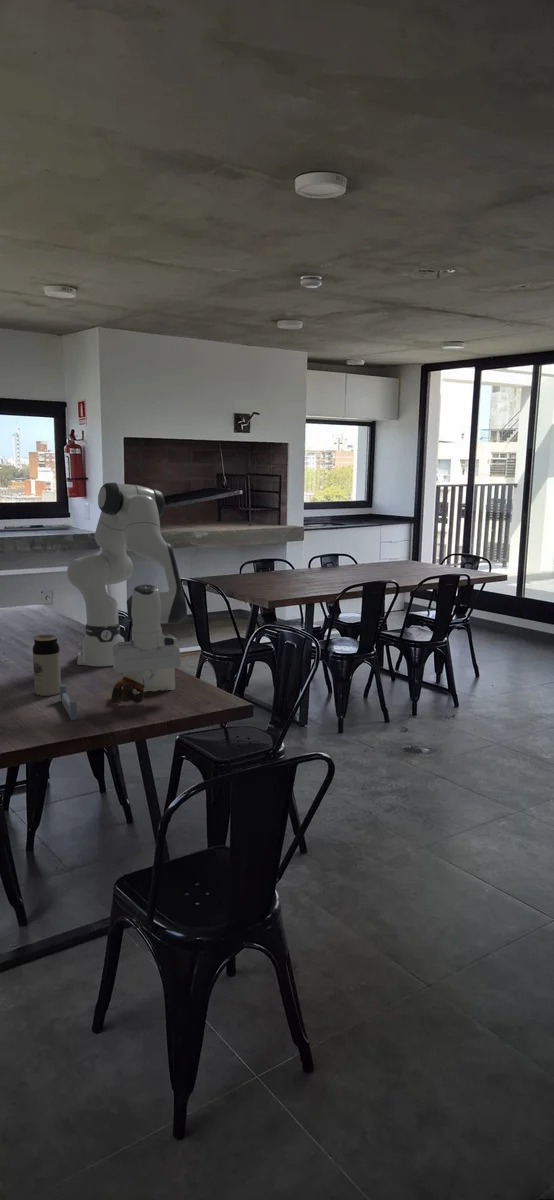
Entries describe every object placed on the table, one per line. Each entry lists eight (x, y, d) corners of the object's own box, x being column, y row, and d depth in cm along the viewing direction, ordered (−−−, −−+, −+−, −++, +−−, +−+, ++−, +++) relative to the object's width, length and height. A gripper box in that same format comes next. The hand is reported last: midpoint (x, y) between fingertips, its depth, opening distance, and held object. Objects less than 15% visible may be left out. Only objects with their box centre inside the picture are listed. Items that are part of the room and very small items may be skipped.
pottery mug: (108, 698, 248) (120, 674, 249) (136, 711, 249) (148, 686, 250) (108, 699, 236) (120, 673, 237) (137, 712, 237) (149, 686, 239)
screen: (123, 692, 253) (122, 661, 252) (172, 686, 260) (172, 656, 258) (126, 695, 250) (125, 664, 248) (176, 689, 256) (175, 659, 254)
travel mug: (54, 687, 257) (52, 632, 254) (65, 693, 251) (63, 637, 248) (30, 692, 252) (27, 636, 249) (41, 698, 246) (38, 640, 243)
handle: (60, 700, 244) (59, 684, 243) (65, 700, 244) (64, 684, 243) (71, 720, 226) (70, 703, 225) (77, 719, 226) (76, 702, 225)
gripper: (114, 644, 234) (116, 690, 236) (182, 639, 242) (183, 683, 245) (110, 640, 240) (111, 685, 242) (176, 634, 248) (176, 678, 250)
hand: (148, 684), depth 243 cm, fingers closed
